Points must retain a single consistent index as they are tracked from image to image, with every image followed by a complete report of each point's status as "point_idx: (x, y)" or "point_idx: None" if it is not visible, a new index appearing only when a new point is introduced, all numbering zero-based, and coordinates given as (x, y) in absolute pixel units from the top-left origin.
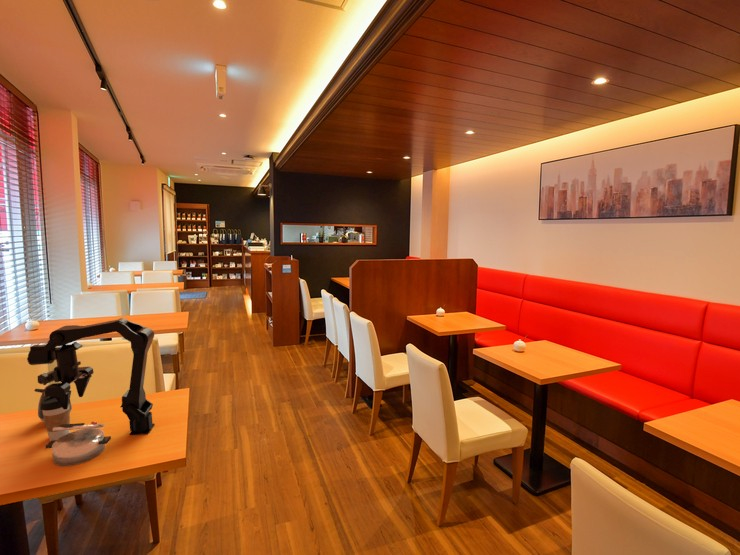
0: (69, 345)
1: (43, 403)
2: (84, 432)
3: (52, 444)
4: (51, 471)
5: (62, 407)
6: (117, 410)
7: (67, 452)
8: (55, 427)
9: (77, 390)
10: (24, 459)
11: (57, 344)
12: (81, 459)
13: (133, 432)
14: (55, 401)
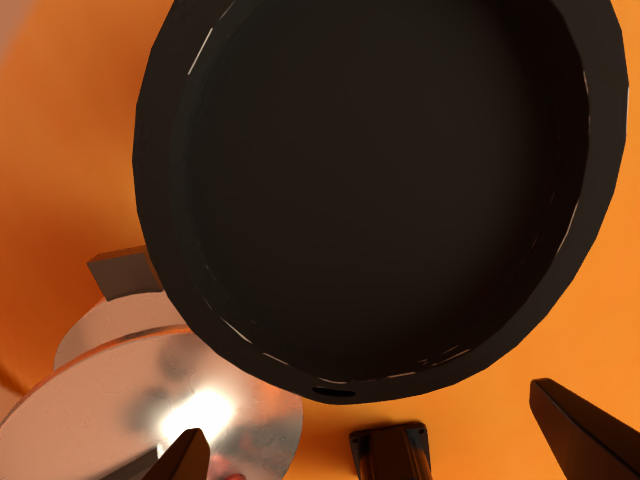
0: None
1: (140, 117)
2: None
3: (110, 293)
4: (65, 322)
5: (163, 455)
6: (624, 253)
7: None
8: (33, 420)
9: (623, 472)
10: (85, 114)
11: None
12: None
13: (361, 444)
14: (225, 342)
